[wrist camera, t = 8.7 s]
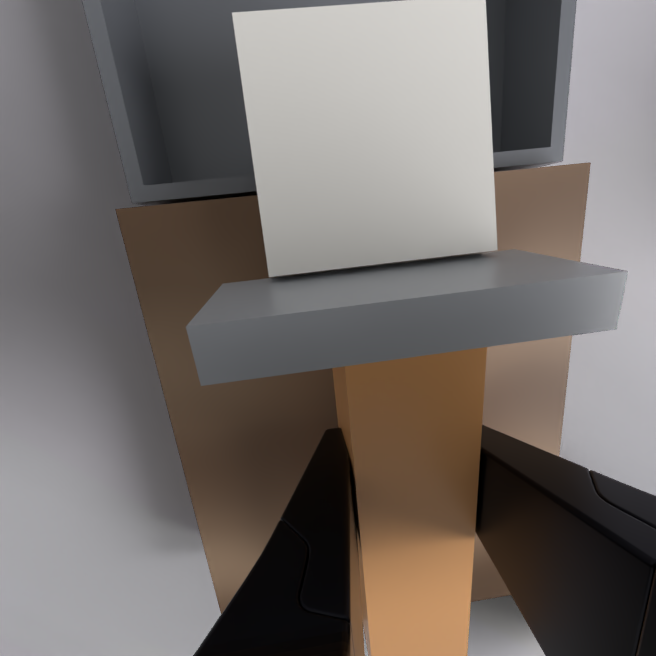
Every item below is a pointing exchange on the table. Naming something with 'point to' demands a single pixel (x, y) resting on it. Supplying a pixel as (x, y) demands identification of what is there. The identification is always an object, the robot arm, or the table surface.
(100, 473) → the table surface
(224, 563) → the tan block
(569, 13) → the box
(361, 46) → the tile
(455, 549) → the scraper
